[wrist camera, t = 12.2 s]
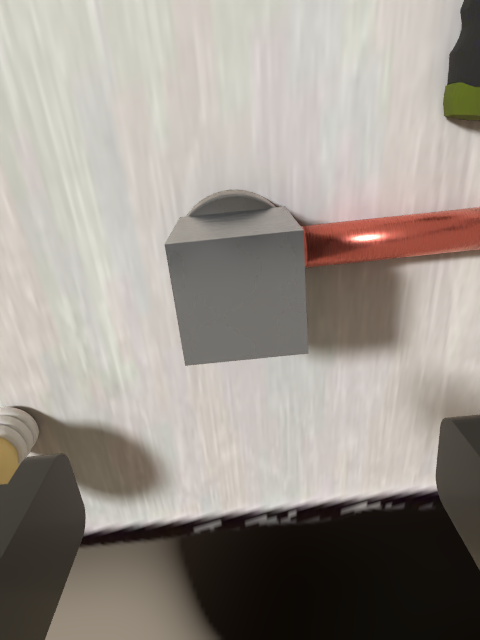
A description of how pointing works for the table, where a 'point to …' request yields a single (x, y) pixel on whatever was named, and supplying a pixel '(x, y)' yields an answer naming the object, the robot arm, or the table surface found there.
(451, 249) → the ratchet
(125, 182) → the table surface
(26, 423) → the light bulb
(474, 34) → the gun
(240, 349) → the grey bevelled cube
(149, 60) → the table surface
